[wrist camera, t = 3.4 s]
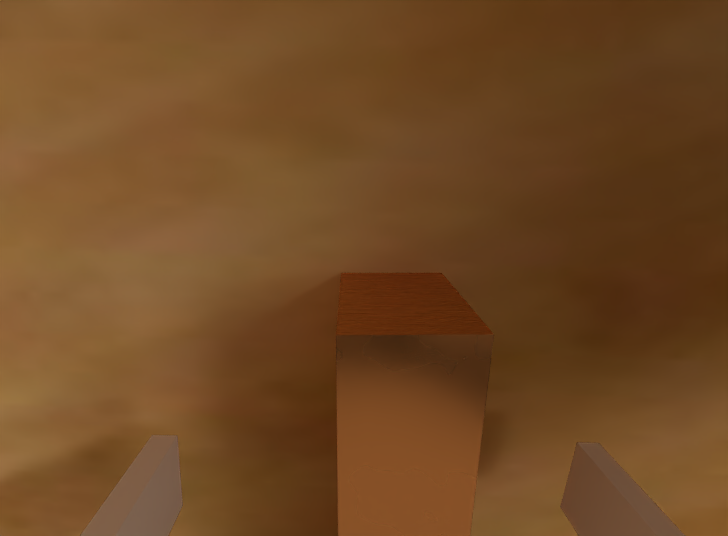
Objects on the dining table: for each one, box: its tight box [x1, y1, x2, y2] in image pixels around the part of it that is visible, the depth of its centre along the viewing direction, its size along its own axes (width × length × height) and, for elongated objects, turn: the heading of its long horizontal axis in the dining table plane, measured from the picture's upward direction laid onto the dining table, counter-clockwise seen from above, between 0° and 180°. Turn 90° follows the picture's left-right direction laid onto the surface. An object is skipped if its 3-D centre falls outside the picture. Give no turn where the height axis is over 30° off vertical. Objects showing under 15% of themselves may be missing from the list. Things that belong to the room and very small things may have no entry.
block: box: [336, 273, 494, 536], centre depth 12 cm, size 12×4×5 cm, turn 179°
